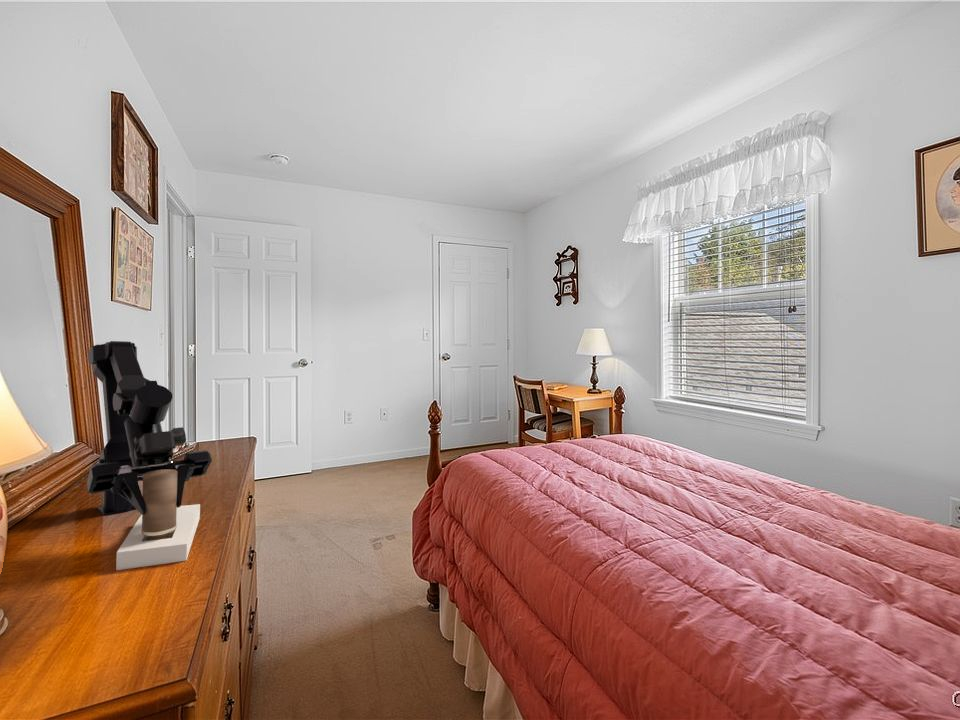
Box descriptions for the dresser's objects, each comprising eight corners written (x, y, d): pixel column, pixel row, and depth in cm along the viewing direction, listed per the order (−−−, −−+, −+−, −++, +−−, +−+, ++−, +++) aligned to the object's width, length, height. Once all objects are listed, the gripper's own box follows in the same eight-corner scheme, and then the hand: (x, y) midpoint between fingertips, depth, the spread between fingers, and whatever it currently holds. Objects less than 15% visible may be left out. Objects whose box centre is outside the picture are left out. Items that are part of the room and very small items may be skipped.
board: (144, 523, 98) (144, 509, 98) (199, 517, 103) (200, 504, 102) (116, 570, 78) (116, 552, 78) (186, 560, 83) (186, 543, 83)
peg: (134, 545, 85) (135, 474, 84) (164, 535, 89) (165, 467, 89) (153, 552, 83) (154, 478, 82) (182, 541, 87) (184, 471, 87)
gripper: (91, 418, 81) (104, 497, 74) (209, 410, 95) (229, 476, 88) (82, 455, 86) (93, 532, 79) (195, 442, 100) (213, 506, 93)
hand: (161, 509), depth 85 cm, fingers closed on peg, 5 cm apart
